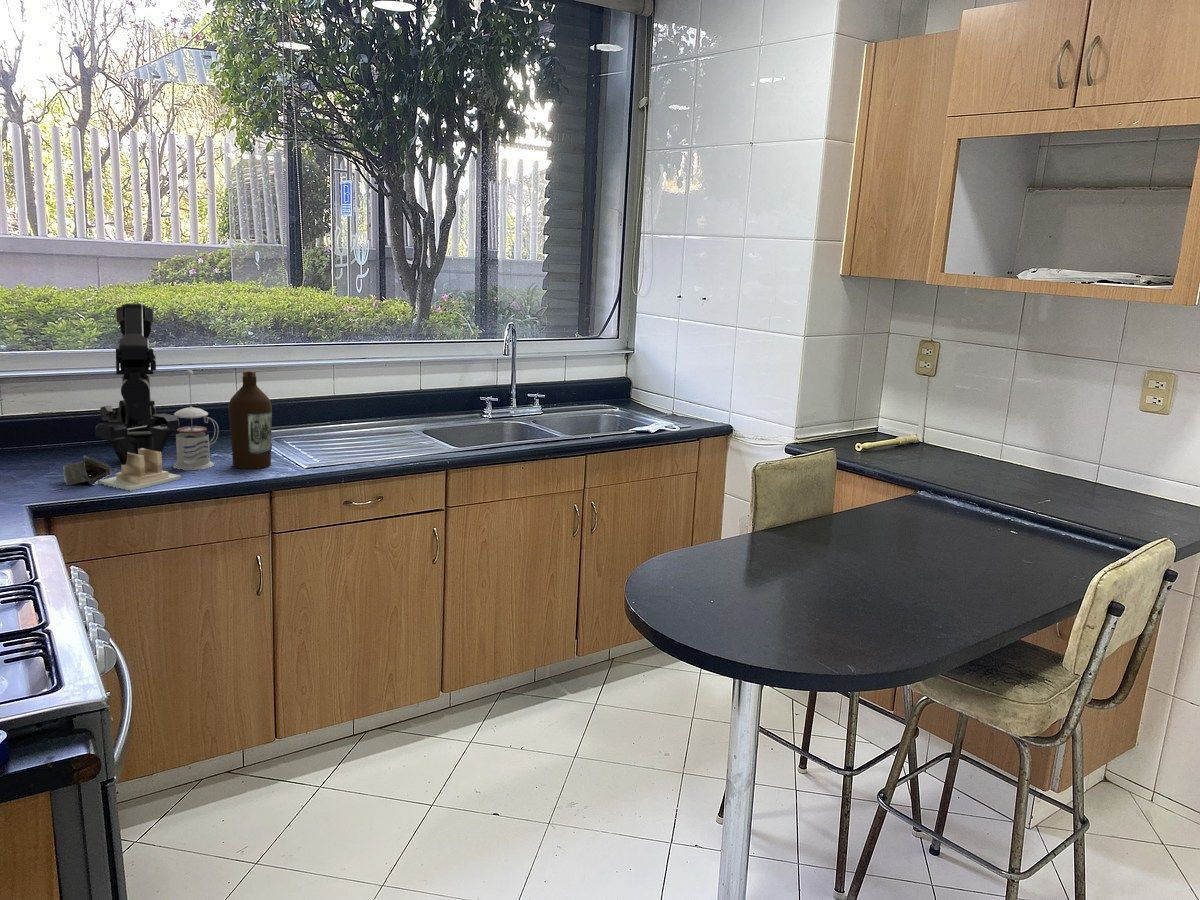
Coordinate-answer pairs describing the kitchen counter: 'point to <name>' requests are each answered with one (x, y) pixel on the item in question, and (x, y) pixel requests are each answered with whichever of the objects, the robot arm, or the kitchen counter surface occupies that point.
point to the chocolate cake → (85, 471)
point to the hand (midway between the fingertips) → (140, 460)
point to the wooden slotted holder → (142, 467)
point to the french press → (193, 439)
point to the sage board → (133, 486)
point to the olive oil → (250, 425)
